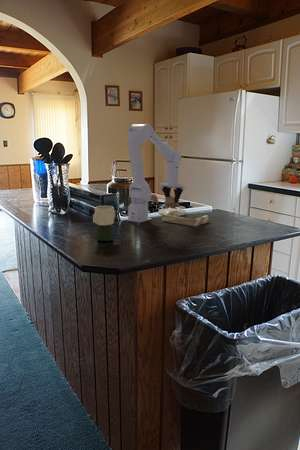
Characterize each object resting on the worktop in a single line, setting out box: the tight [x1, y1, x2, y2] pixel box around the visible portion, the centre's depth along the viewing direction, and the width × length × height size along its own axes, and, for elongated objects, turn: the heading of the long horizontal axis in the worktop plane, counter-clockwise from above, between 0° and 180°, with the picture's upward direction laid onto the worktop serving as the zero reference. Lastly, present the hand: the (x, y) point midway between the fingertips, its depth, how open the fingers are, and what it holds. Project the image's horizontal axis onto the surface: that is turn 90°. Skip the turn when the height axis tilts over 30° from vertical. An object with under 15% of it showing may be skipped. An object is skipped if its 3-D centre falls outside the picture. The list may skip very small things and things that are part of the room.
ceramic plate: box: [158, 207, 187, 217], centre depth 194 cm, size 14×14×1 cm
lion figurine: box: [149, 193, 160, 205], centre depth 213 cm, size 15×5×9 cm, turn 121°
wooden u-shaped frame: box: [161, 211, 209, 227], centre depth 176 cm, size 12×18×3 cm, turn 52°
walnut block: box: [164, 195, 180, 209], centre depth 193 cm, size 5×5×5 cm
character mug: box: [92, 205, 116, 242], centre depth 143 cm, size 11×7×13 cm, turn 139°
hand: (172, 202), depth 193 cm, fingers closed on walnut block, 5 cm apart
